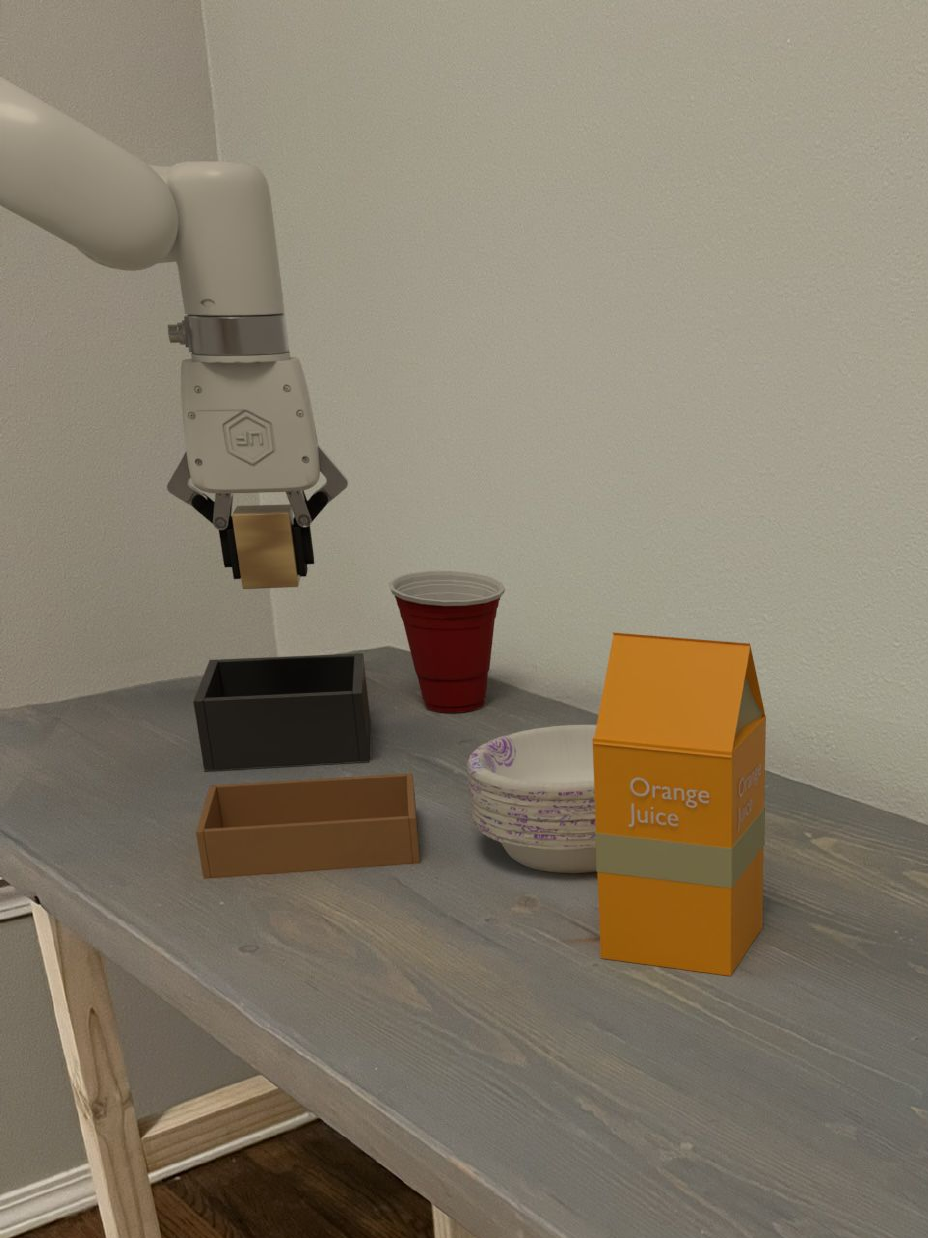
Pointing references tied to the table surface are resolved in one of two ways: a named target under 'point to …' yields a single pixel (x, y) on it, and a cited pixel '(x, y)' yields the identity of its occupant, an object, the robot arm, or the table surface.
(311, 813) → the box
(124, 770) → the table surface
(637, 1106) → the table surface
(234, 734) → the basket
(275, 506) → the block
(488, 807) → the paper bowls
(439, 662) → the plastic cup
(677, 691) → the orange juice
